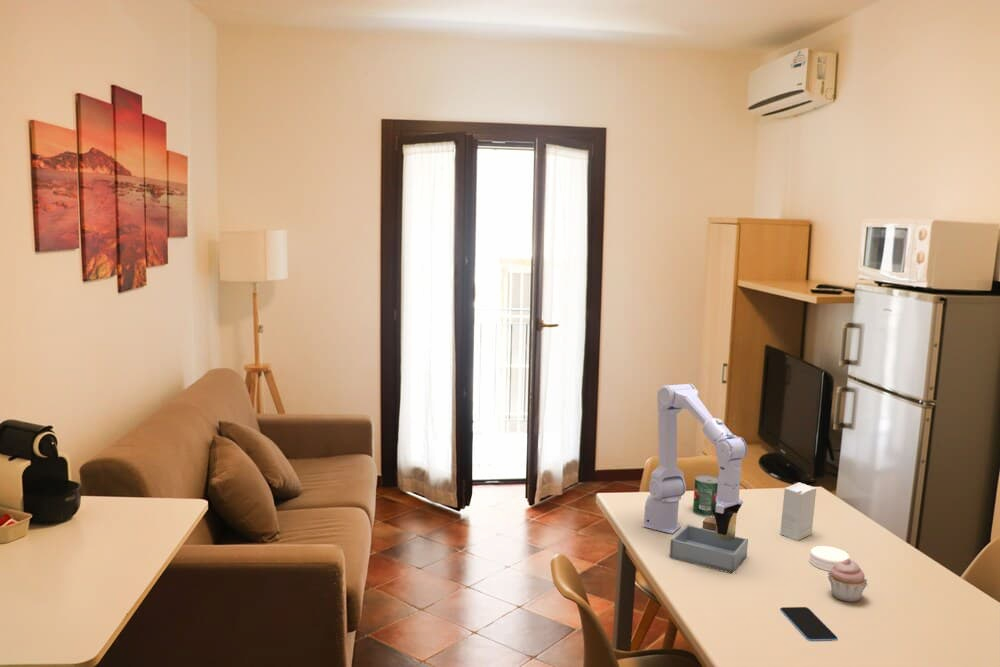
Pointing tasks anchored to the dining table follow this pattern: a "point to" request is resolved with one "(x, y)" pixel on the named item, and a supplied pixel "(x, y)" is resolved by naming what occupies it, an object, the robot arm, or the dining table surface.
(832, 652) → the dining table surface
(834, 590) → the cupcake
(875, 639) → the dining table surface
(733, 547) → the tote
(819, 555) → the white round disc
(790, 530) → the skincare box
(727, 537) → the brass cylinder
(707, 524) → the walnut cube
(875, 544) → the dining table surface
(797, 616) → the smartphone
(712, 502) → the canned tomato
